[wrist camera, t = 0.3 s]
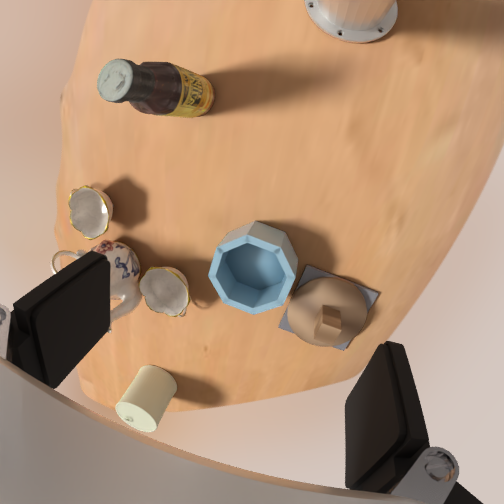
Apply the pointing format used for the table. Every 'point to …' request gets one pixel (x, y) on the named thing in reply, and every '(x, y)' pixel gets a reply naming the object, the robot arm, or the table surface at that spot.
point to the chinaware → (124, 261)
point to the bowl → (254, 268)
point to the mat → (316, 273)
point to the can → (147, 398)
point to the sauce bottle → (156, 88)
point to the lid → (327, 311)
